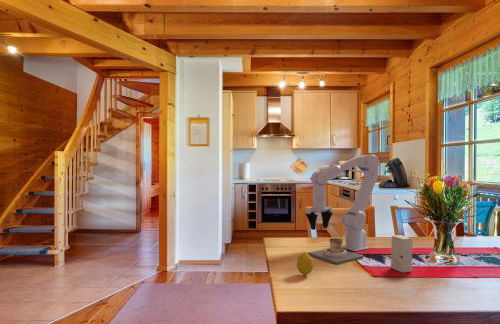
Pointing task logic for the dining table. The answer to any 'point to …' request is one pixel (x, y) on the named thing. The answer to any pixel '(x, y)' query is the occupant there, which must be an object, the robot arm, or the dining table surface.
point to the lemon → (304, 264)
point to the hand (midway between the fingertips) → (319, 228)
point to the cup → (336, 245)
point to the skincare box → (401, 253)
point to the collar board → (337, 259)
